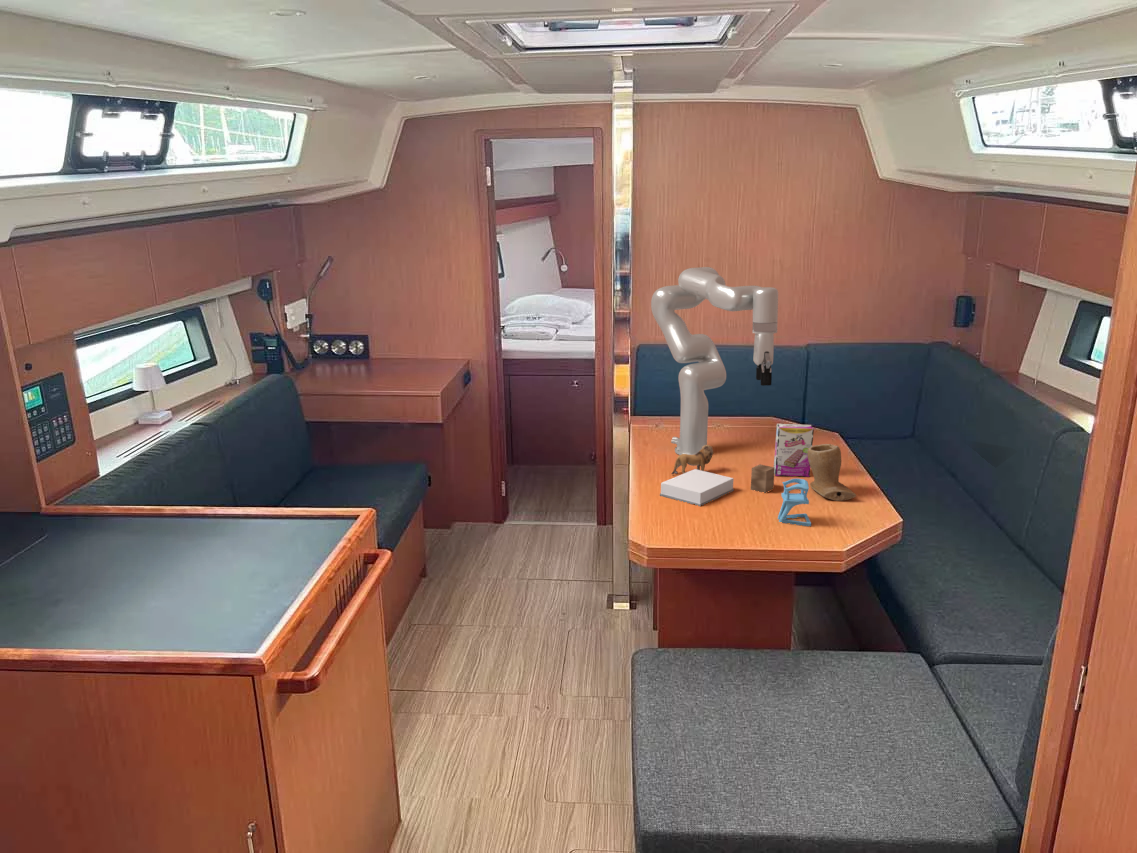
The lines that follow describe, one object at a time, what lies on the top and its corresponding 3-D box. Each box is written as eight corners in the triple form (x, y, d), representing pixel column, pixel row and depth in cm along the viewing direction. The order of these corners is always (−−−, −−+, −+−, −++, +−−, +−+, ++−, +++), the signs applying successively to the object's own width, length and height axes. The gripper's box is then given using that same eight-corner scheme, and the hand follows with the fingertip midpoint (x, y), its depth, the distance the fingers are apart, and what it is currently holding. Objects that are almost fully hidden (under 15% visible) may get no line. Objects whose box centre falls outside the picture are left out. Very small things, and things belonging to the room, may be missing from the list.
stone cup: (799, 486, 265) (802, 440, 261) (837, 485, 266) (840, 439, 262) (816, 503, 251) (820, 454, 247) (856, 502, 252) (860, 453, 248)
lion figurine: (707, 468, 283) (708, 442, 281) (715, 473, 279) (716, 446, 276) (667, 473, 278) (668, 447, 276) (675, 478, 274) (676, 451, 271)
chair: (776, 515, 241) (778, 475, 238) (806, 516, 240) (809, 475, 237) (780, 526, 234) (782, 484, 231) (811, 526, 233) (813, 484, 230)
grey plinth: (659, 495, 258) (660, 482, 257) (694, 480, 271) (694, 468, 270) (700, 506, 249) (700, 493, 247) (733, 490, 262) (734, 478, 261)
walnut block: (750, 489, 263) (751, 468, 261) (758, 485, 266) (760, 464, 265) (765, 493, 260) (766, 471, 258) (773, 489, 263) (774, 467, 261)
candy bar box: (775, 476, 275) (778, 427, 270) (773, 472, 280) (775, 423, 275) (810, 477, 274) (814, 428, 269) (808, 472, 278) (811, 424, 274)
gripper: (748, 325, 274) (747, 378, 277) (756, 331, 257) (755, 387, 261) (772, 324, 273) (771, 377, 277) (782, 330, 256) (780, 387, 260)
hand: (763, 382), depth 269 cm, fingers open, 9 cm apart
